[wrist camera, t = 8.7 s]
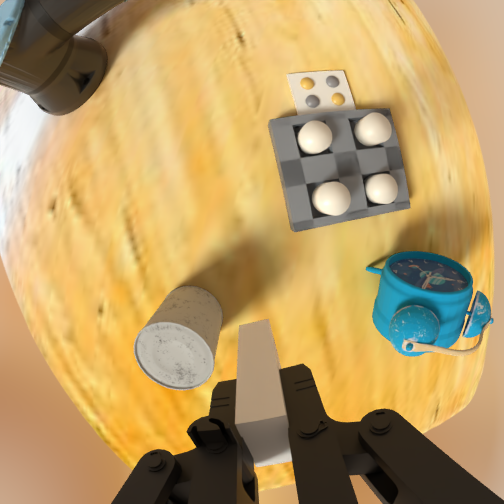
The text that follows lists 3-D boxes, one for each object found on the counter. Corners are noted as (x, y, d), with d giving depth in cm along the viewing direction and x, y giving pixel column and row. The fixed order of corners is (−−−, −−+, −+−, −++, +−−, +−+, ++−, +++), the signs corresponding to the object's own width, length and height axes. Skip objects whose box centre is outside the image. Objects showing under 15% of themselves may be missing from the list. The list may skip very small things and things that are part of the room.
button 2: (309, 185, 33) (315, 184, 30) (337, 180, 33) (347, 179, 30) (315, 216, 34) (322, 218, 31) (343, 210, 34) (353, 212, 31)
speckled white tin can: (158, 332, 41) (131, 375, 29) (167, 277, 39) (137, 310, 27) (215, 348, 41) (205, 398, 29) (229, 295, 39) (222, 335, 27)
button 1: (293, 129, 33) (297, 122, 30) (320, 125, 33) (327, 118, 30) (299, 157, 34) (305, 153, 31) (327, 152, 34) (335, 148, 31)
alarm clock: (436, 245, 39) (522, 275, 19) (430, 301, 41) (502, 351, 21) (352, 251, 38) (432, 298, 19) (349, 315, 41) (409, 391, 21)
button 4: (359, 177, 35) (370, 175, 31) (383, 173, 35) (395, 172, 31) (364, 205, 36) (375, 206, 32) (388, 200, 35) (400, 201, 32)
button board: (267, 125, 35) (269, 119, 32) (380, 113, 34) (389, 108, 31) (291, 229, 38) (294, 232, 35) (400, 207, 37) (410, 208, 34)
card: (286, 75, 33) (287, 73, 32) (342, 71, 33) (343, 69, 32) (298, 117, 34) (299, 115, 34) (354, 111, 34) (357, 110, 33)
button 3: (351, 119, 32) (360, 113, 28) (375, 118, 31) (387, 111, 28) (358, 147, 32) (368, 143, 29) (382, 145, 32) (394, 141, 29)
